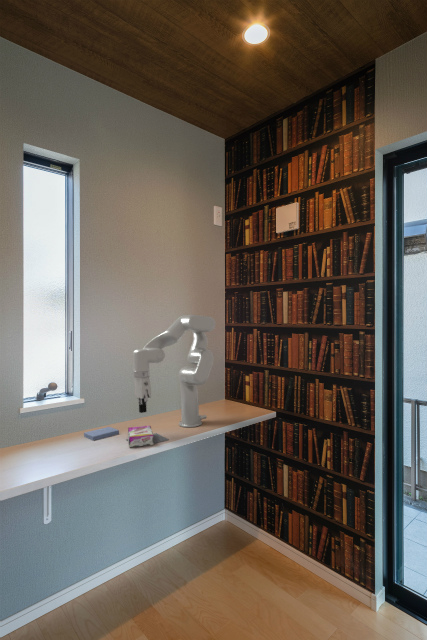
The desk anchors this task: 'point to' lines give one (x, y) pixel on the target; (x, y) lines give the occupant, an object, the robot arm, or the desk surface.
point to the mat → (156, 438)
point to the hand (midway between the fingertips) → (142, 412)
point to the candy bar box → (140, 436)
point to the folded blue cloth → (101, 433)
